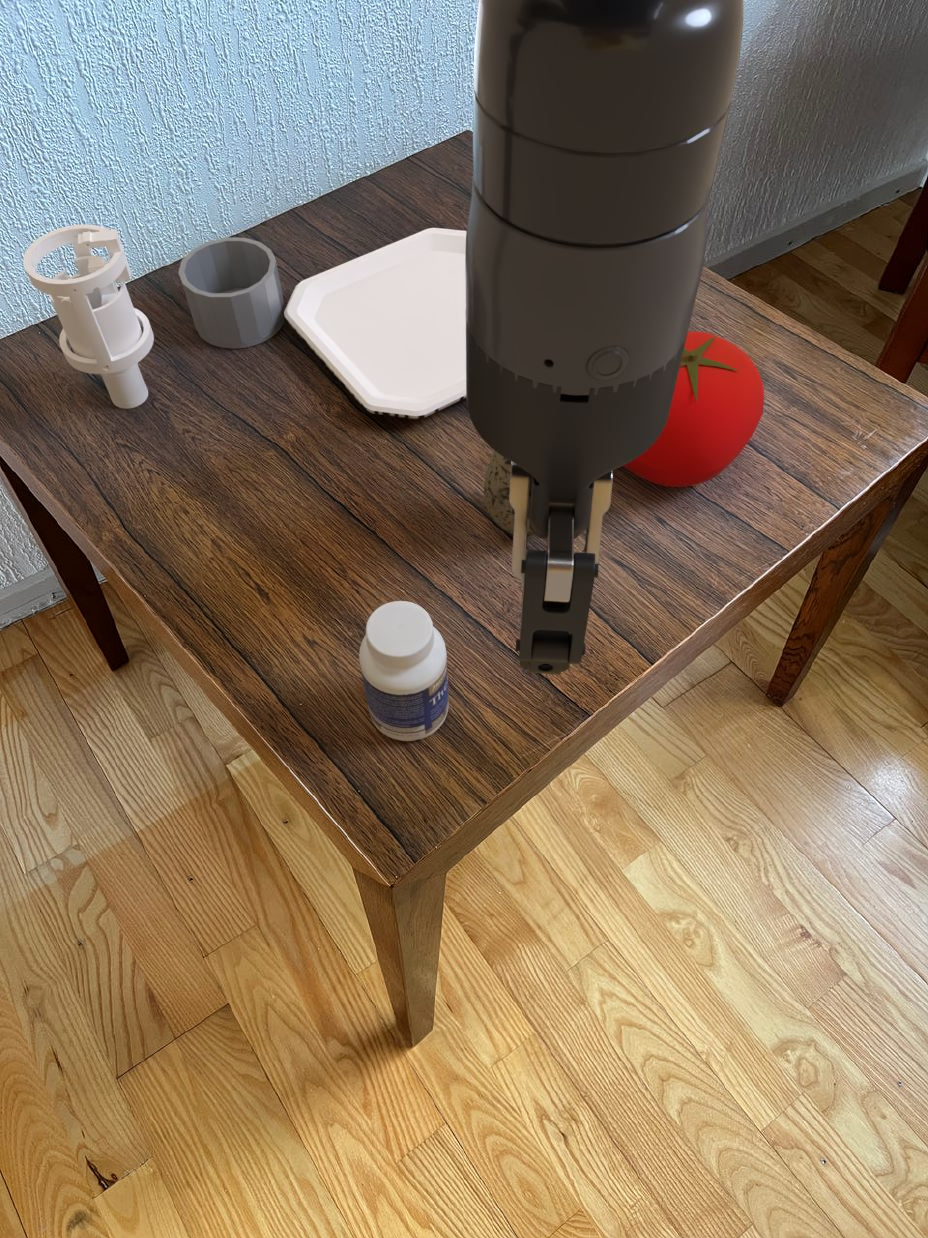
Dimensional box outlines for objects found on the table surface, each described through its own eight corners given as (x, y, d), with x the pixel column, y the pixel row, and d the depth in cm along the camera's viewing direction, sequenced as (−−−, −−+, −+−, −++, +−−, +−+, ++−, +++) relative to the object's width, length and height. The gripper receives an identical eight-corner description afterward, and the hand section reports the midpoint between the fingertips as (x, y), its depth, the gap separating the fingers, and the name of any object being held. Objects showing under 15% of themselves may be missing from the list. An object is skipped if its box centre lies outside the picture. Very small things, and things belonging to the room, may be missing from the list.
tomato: (569, 469, 76) (581, 366, 67) (649, 384, 81) (669, 278, 73) (694, 535, 72) (723, 435, 63) (769, 441, 78) (806, 336, 69)
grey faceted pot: (187, 349, 85) (171, 296, 80) (202, 289, 89) (187, 237, 85) (280, 348, 85) (268, 296, 80) (290, 289, 89) (280, 236, 85)
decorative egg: (558, 492, 75) (568, 396, 66) (564, 552, 71) (576, 459, 63) (482, 494, 75) (483, 398, 66) (485, 554, 71) (486, 461, 63)
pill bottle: (448, 744, 63) (444, 667, 55) (366, 743, 63) (350, 666, 55) (450, 673, 66) (446, 590, 58) (372, 672, 66) (357, 590, 58)
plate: (590, 351, 84) (592, 330, 82) (389, 450, 78) (387, 430, 76) (457, 234, 93) (457, 213, 92) (270, 313, 87) (265, 293, 85)
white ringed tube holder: (173, 418, 80) (116, 261, 67) (87, 431, 79) (13, 275, 67) (170, 362, 84) (116, 204, 71) (88, 374, 83) (19, 217, 71)
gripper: (480, 177, 36) (478, 472, 50) (447, 453, 28) (455, 715, 42) (680, 184, 36) (623, 480, 49) (704, 467, 28) (629, 727, 41)
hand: (546, 587), depth 45 cm, fingers open, 8 cm apart
